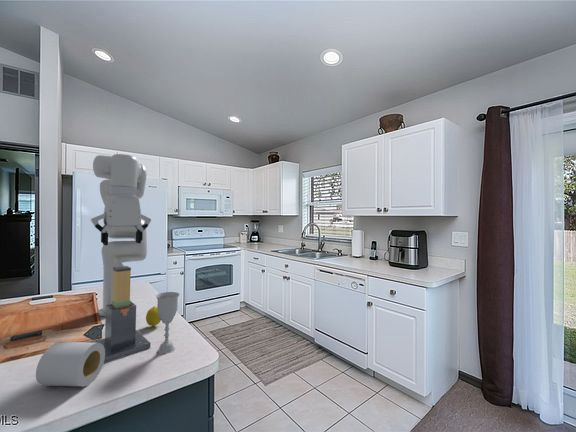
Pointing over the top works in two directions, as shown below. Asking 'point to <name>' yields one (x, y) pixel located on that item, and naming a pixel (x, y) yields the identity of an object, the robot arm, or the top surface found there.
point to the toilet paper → (70, 364)
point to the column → (121, 287)
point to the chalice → (167, 316)
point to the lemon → (153, 317)
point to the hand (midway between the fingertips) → (122, 243)
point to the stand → (121, 333)
